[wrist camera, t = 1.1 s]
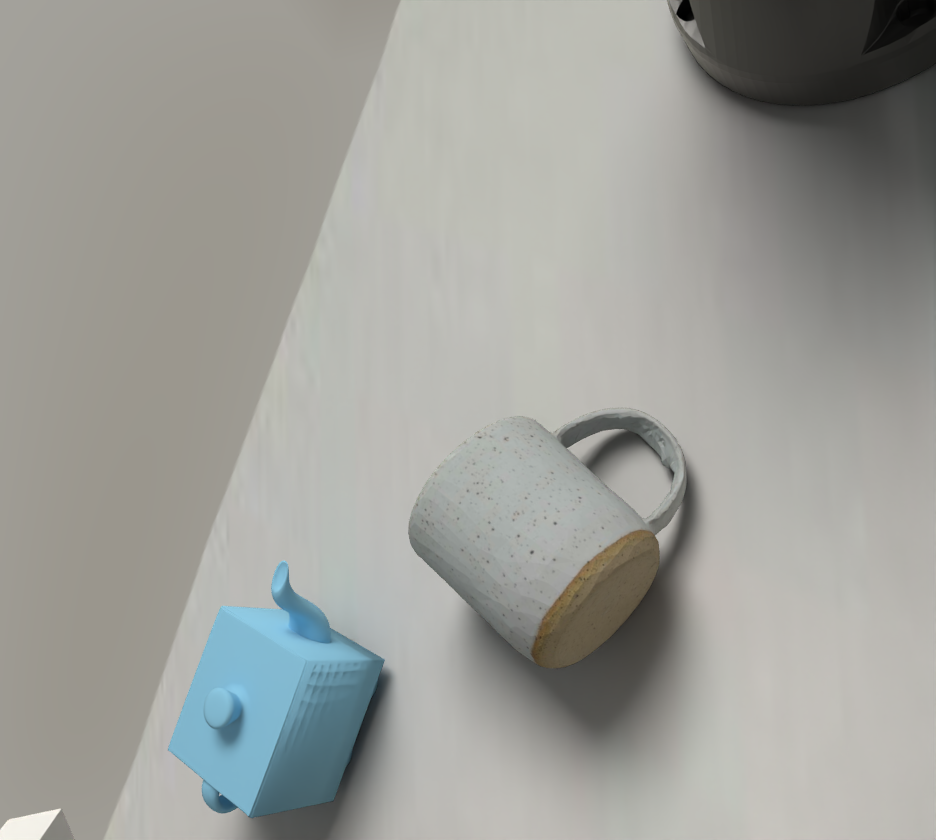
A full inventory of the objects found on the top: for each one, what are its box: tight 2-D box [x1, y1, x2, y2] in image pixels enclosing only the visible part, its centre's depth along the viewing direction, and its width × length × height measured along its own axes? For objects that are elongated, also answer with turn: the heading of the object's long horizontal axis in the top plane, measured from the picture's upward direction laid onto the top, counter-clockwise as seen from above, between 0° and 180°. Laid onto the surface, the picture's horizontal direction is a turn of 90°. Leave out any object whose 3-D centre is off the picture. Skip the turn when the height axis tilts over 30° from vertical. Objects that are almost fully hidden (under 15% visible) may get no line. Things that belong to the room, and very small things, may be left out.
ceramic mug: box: [408, 408, 687, 668], centre depth 36 cm, size 11×8×8 cm
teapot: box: [168, 561, 385, 818], centre depth 42 cm, size 12×6×8 cm, turn 156°
